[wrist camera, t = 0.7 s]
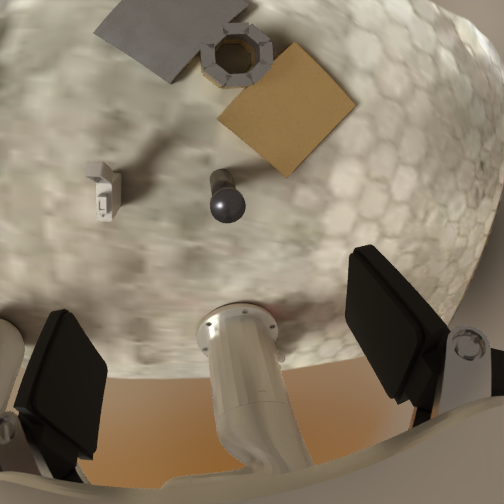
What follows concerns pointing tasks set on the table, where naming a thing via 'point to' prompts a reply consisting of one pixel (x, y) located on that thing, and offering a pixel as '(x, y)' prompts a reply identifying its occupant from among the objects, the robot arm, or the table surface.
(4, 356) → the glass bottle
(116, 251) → the table surface
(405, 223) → the table surface
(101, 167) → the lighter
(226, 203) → the dark round-topped peg
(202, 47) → the hinge
